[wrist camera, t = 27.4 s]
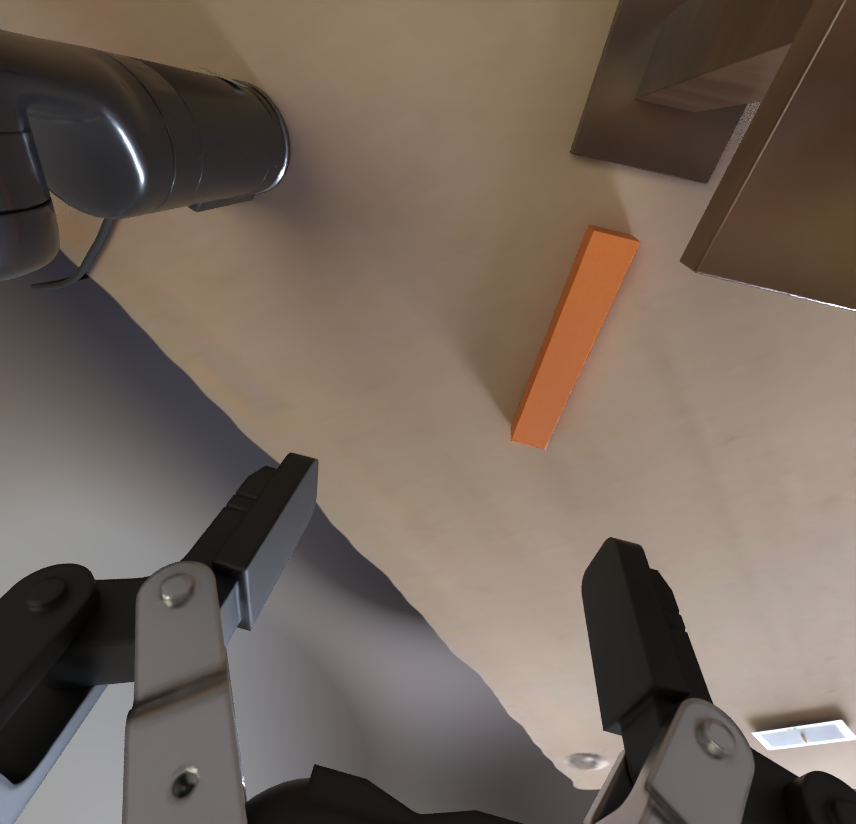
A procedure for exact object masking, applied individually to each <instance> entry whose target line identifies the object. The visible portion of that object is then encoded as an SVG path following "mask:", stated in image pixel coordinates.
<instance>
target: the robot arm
mask: <svg viewBox="0 0 856 824" xmlns="http://www.w3.org/2000/svg"><path fill="white" fill-rule="evenodd" d="M201 69H203V68H201ZM203 70H205V71H208V72H210V73H212V74H215V75H217V76H219V77H216V76H212V75H208V74H203V73H199V72H194V71H190V70H186V69H181V68H177V67H172V66H168V65H164V64H159V63H155V62H150V61H146V60H142V59H137V58H133V57H128V56H123V55H119V54H115V53H110V52H106V51H101V50H97V49H93V48H88V47H83V46H78V45H73V44H68V43H62V42H57V41H52V40H47V39H41V38H36V37H32V36H27V35H23V34H18V33H14V32H9V31H5V30H1V29H0V281H4V280H7V279H11V278H15V277H19V276H22V275H25V274H27V273H30V272H33V271H35V270H37V269H39V268H41V267H43V266H45V265H47V264H48V263H49V262H51V261H52V260H53V258H54V257H55V256H56V255H57V253H58V251H59V247H60V240H59V230H58V224H57V219H56V214H55V211H54V207H53V203H52V200H51V197H50V193H49V191H51V192H52V193H53V194H54V195H55V196H57V197H58V198H59V199H61V200H62V201H63V202H65V203H66V204H68V205H70V206H71V207H73V208H75V209H77V210H79V211H81V212H83V213H86V214H88V215H92V216H95V217H100V218H104V220H103V223H102V225H101V228H100V230H99V233H98V235H97V237H96V239H95V241H94V243H93V244H92V246H91V248H90V249H89V251H88V253H87V255H86V256H85V258H84V260H83V262H82V264H81V266H80V267H79V269H78V270H77V271H76V273H75V274H74V275H73V276H71V277H68V278H64V279H60V280H55V281H50V282H44V283H37V284H32V285H31V288H32V289H33V290H54V289H60V288H64V287H68V286H70V285H72V284H74V283H75V282H76V281H79V280H83V279H87V278H90V276H88V275H87V274H86V271H87V270H88V268H89V267H90V265H91V263H92V261H93V259H94V258H95V256H96V254H97V252H98V251H99V249H100V248H101V246H102V244H103V243H104V241H105V238H106V236H107V234H108V231H109V229H110V227H111V224H112V222H113V220H114V219H123V218H130V217H135V216H140V215H144V214H149V213H154V212H160V211H165V210H170V209H174V208H179V207H184V206H188V207H189V208H190V209H192V210H193V211H196V212H201V211H205V210H210V209H214V208H219V207H223V206H228V205H232V204H237V203H242V202H246V201H251V200H252V199H253V197H254V195H255V194H259V193H263V192H267V191H269V190H271V189H273V188H274V187H275V186H277V185H278V184H279V183H280V181H281V180H282V179H283V177H284V175H285V173H286V171H287V168H288V164H289V159H290V142H289V136H288V132H287V129H286V125H285V123H284V120H283V118H282V116H281V114H280V112H279V111H278V109H277V108H276V106H275V105H274V103H273V102H272V101H271V100H270V99H269V97H268V96H267V95H266V94H264V93H263V92H262V91H261V90H259V89H258V88H257V87H255V86H253V85H251V84H249V83H246V82H243V81H239V80H233V79H229V78H226V77H224V76H222V75H220V74H217V73H215V72H213V71H210V70H207V69H203ZM220 77H221V78H220ZM317 480H318V460H317V459H315V458H311V457H307V456H303V455H299V454H296V453H292V452H291V453H289V454H288V455H287V456H286V457H285V459H284V460H283V462H282V463H281V464H280V466H279V467H278V469H275V468H272V467H268V466H265V467H263V468H261V469H260V470H258V471H257V472H255V473H253V474H252V475H250V476H249V477H247V479H246V480H245V481H244V483H243V484H242V485H241V486H240V488H239V489H238V490H237V492H236V494H235V495H233V497H232V498H231V499H230V500H229V502H228V503H227V505H226V507H224V508H223V509H222V511H221V512H220V513H219V514H218V516H217V517H216V518H215V519H214V521H213V522H212V523H211V525H210V526H209V527H208V528H207V530H206V531H205V532H204V533H203V535H202V536H201V537H200V539H199V540H198V541H197V542H196V544H195V545H194V546H193V548H192V549H191V550H190V551H189V552H188V554H187V555H186V556H185V557H184V558H183V559H182V560H181V561H180V562H175V563H172V564H169V565H167V566H165V567H163V568H161V569H159V570H158V571H156V572H155V573H153V574H152V575H151V576H148V577H144V578H132V579H108V580H95V579H94V577H93V575H92V573H91V571H89V570H88V569H87V568H86V567H84V566H81V565H78V564H57V565H53V566H49V567H46V568H43V569H40V570H38V571H36V572H34V573H32V574H30V575H28V576H26V577H25V578H23V579H22V580H20V581H19V582H18V583H16V584H15V585H14V586H13V587H12V588H11V589H10V590H9V591H8V592H7V593H6V594H5V595H3V596H2V597H1V598H0V824H14V823H15V821H16V820H17V818H18V817H19V815H20V814H21V812H22V811H23V809H24V808H25V806H26V805H27V803H28V802H29V800H30V799H31V798H32V796H33V795H34V793H35V792H36V790H37V789H38V787H39V786H40V784H41V783H42V781H43V780H44V778H45V777H46V776H47V774H48V772H49V771H50V770H51V768H52V767H53V765H54V764H55V762H56V761H57V759H58V758H59V756H60V755H61V753H62V752H63V750H64V749H65V747H66V746H67V745H68V743H69V742H70V740H71V739H72V737H73V736H74V734H75V733H76V731H77V730H78V728H79V727H80V725H81V724H82V722H83V721H84V719H85V718H86V717H87V715H88V714H89V712H90V711H91V709H92V708H93V706H94V705H95V703H96V702H97V700H98V699H99V697H100V696H101V694H102V693H103V691H104V690H105V689H106V687H107V686H108V684H115V683H127V682H134V703H133V707H132V709H131V710H130V711H129V712H128V715H127V720H126V728H125V748H124V779H123V780H124V781H123V810H122V824H522V823H518V822H514V821H512V820H508V819H505V818H501V817H497V816H494V815H491V814H487V813H483V812H480V811H476V810H473V811H460V812H448V813H434V814H418V813H416V812H414V811H412V810H410V809H409V808H408V807H406V806H405V805H403V804H402V803H400V802H399V801H398V800H396V799H395V798H393V797H392V796H390V795H389V794H387V793H386V792H384V791H383V790H382V789H380V788H378V787H377V786H376V785H374V784H373V783H372V782H370V781H369V780H367V779H364V778H361V777H357V776H354V775H351V774H347V773H343V772H340V771H337V770H333V769H330V768H326V767H322V766H319V765H316V764H315V765H314V767H313V770H312V774H311V777H310V778H304V779H303V778H302V779H296V780H291V781H287V782H284V783H281V784H278V785H276V786H273V787H271V788H269V789H267V790H265V791H263V792H261V793H260V794H258V795H256V796H254V797H253V798H252V799H250V800H249V801H247V796H246V789H245V781H244V774H243V767H242V759H241V752H240V746H239V738H238V731H237V724H236V717H235V709H234V702H233V694H232V687H231V680H230V672H229V665H228V657H227V650H226V646H227V644H228V642H229V640H230V639H231V637H232V635H233V633H234V632H235V630H236V628H237V627H238V628H242V629H245V630H249V631H251V629H252V627H253V625H254V624H255V621H256V620H257V618H258V616H259V614H260V612H261V610H262V608H263V607H264V605H265V603H266V601H267V599H268V597H269V595H270V593H271V592H272V590H273V588H274V586H275V584H276V582H277V580H278V578H279V577H280V575H281V573H282V571H283V569H284V567H285V565H286V563H287V562H288V560H289V558H290V556H291V554H292V552H293V550H294V548H295V546H296V545H297V543H298V541H299V539H300V537H301V535H302V533H303V532H304V530H305V528H306V526H307V524H308V522H309V520H310V518H311V516H312V513H313V510H314V507H315V503H316V497H317ZM582 599H583V605H584V612H585V618H586V624H587V630H588V637H589V643H590V649H591V656H592V662H593V668H594V675H595V681H596V687H597V694H598V700H599V706H600V712H601V719H602V725H603V731H607V732H610V733H614V734H618V735H621V736H622V738H623V743H624V750H623V751H622V752H621V753H620V754H619V756H618V758H617V760H616V761H615V763H614V765H613V767H612V769H611V771H610V773H609V775H608V777H607V778H606V780H605V782H604V784H603V786H602V788H601V790H600V792H599V794H598V795H597V798H596V799H595V801H594V803H593V805H592V807H591V809H590V811H589V812H588V814H587V816H586V818H585V820H584V822H583V824H856V792H855V791H854V790H853V789H852V788H851V787H850V786H848V785H847V784H846V783H844V782H843V781H841V780H840V779H838V778H836V777H835V776H833V775H831V774H828V773H826V772H822V771H812V772H809V773H807V774H805V775H803V776H801V777H798V776H796V775H795V774H793V773H791V772H790V771H788V770H786V769H785V768H783V767H781V766H780V765H778V764H777V763H775V762H773V761H772V760H770V759H768V758H767V757H765V756H763V755H762V754H760V753H758V752H757V751H755V750H754V749H752V748H751V747H750V746H749V744H748V742H747V740H746V738H745V736H744V735H743V733H742V731H741V730H740V729H739V727H738V726H737V725H736V724H735V722H734V721H733V720H732V719H731V718H730V717H729V716H728V715H727V714H726V713H725V712H723V711H722V710H721V709H720V708H718V707H717V706H715V705H714V704H713V702H712V699H711V697H710V694H709V692H708V689H707V686H706V683H705V681H704V678H703V675H702V672H701V669H700V667H699V664H698V661H697V658H696V656H695V653H694V650H693V647H692V645H691V642H690V639H689V636H688V634H687V632H685V625H684V622H683V620H682V617H681V615H679V609H678V606H677V603H676V600H675V598H674V595H673V592H672V590H671V588H670V587H669V586H668V584H667V583H666V581H665V580H664V579H663V577H662V576H661V575H660V573H659V572H658V570H654V569H650V568H649V565H648V562H647V559H646V556H645V552H644V550H643V548H642V547H641V546H640V545H639V544H635V543H631V542H627V541H623V540H620V539H616V538H612V537H610V538H608V539H606V541H605V542H604V543H603V545H602V546H601V548H600V550H599V551H598V553H597V554H596V556H595V557H594V559H593V560H592V562H591V563H590V565H589V566H588V568H587V569H586V571H585V573H584V576H583V580H582Z"/></svg>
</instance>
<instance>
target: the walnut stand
mask: <svg viewBox="0 0 856 824" xmlns="http://www.w3.org/2000/svg"><path fill="white" fill-rule="evenodd" d="M760 101H762V102H761V104H760V106H759V108H758V110H757V112H756V114H755V116H754V118H753V120H752V122H751V124H750V126H749V128H748V129H747V131H746V133H745V135H744V137H743V139H742V141H741V143H740V145H739V147H738V149H737V151H736V153H735V155H734V157H733V158H732V160H731V162H730V164H729V166H728V168H727V170H726V172H725V174H724V176H723V178H722V180H721V182H720V184H719V185H718V187H717V189H716V191H715V193H714V195H713V197H712V199H711V201H710V203H709V205H708V207H707V209H706V211H705V213H704V214H703V216H702V218H701V220H700V222H699V224H698V226H697V228H696V230H695V232H694V234H693V236H692V238H691V240H690V241H689V243H688V245H687V247H686V249H685V251H684V253H683V255H682V257H681V259H680V262H681V263H683V264H684V265H685V266H687V267H688V268H690V269H691V270H693V271H694V272H695V273H698V274H703V275H707V276H711V277H715V278H719V279H723V280H727V281H732V282H736V283H740V284H744V285H748V286H752V287H757V288H761V289H765V290H769V291H773V292H777V293H781V294H786V295H790V296H794V297H798V298H802V299H806V300H811V301H815V302H819V303H823V304H827V305H831V306H835V307H840V308H844V309H848V310H852V311H856V0H619V4H618V7H617V10H616V13H615V16H614V19H613V22H612V25H611V28H610V31H609V34H608V37H607V40H606V43H605V46H604V49H603V52H602V55H601V59H600V62H599V65H598V68H597V71H596V74H595V77H594V80H593V83H592V86H591V89H590V92H589V95H588V98H587V101H586V104H585V107H584V110H583V114H582V117H581V120H580V123H579V126H578V129H577V132H576V135H575V138H574V141H573V144H572V147H571V150H570V153H575V154H579V155H583V156H587V157H592V158H596V159H600V160H604V161H609V162H613V163H617V164H622V165H626V166H630V167H634V168H639V169H643V170H647V171H652V172H656V173H660V174H664V175H669V176H673V177H677V178H681V179H686V180H690V181H694V182H699V183H703V184H707V183H708V181H709V179H710V177H711V175H712V173H713V171H714V169H715V167H716V165H717V163H718V161H719V159H720V157H721V155H722V153H723V151H724V149H725V147H726V145H727V143H728V141H729V139H730V137H731V135H732V133H733V131H734V129H735V127H736V125H737V123H738V121H739V119H740V117H741V115H742V113H743V111H744V109H745V107H746V105H747V104H748V103H754V102H760Z"/></svg>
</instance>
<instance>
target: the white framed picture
mask: <svg viewBox="0 0 856 824" xmlns="http://www.w3.org/2000/svg"><path fill="white" fill-rule="evenodd" d="M752 734H753V735H754V736H755V737H756V738H757V739H758V740H759V741H760V742H761V743H762V744H763V745H764V746H765V747H766V748H767V749H768V750H776V749H784V748H792V747H800V746H808V745H816V744H824V743H832V742H840V741H848V740H856V736H855V735H854V734H853V733H852V731H851V730H850V729H849V728H848V727H847V726H846V724H845V723H844V722H843V721H842V720H836V721H829V722H823V723H816V724H809V725H802V726H795V727H788V728H781V729H774V730H767V731H761V732H754V733H752Z"/></svg>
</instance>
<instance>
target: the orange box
mask: <svg viewBox="0 0 856 824" xmlns="http://www.w3.org/2000/svg"><path fill="white" fill-rule="evenodd" d="M639 244H640V241H639V240H638V239H636V238H635V237H634V236H632V235H628V234H624V233H620V232H615V231H611V230H607V229H603V228H599V227H595V226H591V225H589V226H588V228H587V231H586V233H585V236H584V238H583V241H582V244H581V246H580V249H579V251H578V254H577V257H576V259H575V262H574V264H573V267H572V270H571V272H570V275H569V277H568V280H567V283H566V285H565V288H564V290H563V293H562V296H561V298H560V301H559V303H558V306H557V309H556V311H555V314H554V316H553V319H552V322H551V324H550V327H549V329H548V332H547V335H546V337H545V340H544V342H543V345H542V348H541V350H540V353H539V355H538V358H537V361H536V363H535V366H534V368H533V371H532V373H531V376H530V379H529V381H528V384H527V386H526V389H525V392H524V394H523V397H522V399H521V402H520V405H519V407H518V410H517V412H516V415H515V418H514V420H513V423H512V425H511V441H515V442H518V443H522V444H526V445H530V446H534V447H538V448H541V449H546V446H547V444H548V442H549V440H550V438H551V436H552V433H553V431H554V429H555V427H556V425H557V423H558V420H559V418H560V416H561V414H562V412H563V409H564V407H565V405H566V403H567V401H568V399H569V396H570V394H571V392H572V390H573V388H574V386H575V383H576V381H577V379H578V377H579V375H580V372H581V370H582V368H583V366H584V364H585V362H586V359H587V357H588V355H589V353H590V351H591V349H592V346H593V344H594V342H595V340H596V338H597V335H598V333H599V331H600V329H601V327H602V325H603V322H604V320H605V318H606V316H607V314H608V312H609V309H610V307H611V305H612V303H613V301H614V298H615V296H616V294H617V292H618V290H619V288H620V285H621V283H622V281H623V279H624V277H625V275H626V272H627V270H628V268H629V266H630V264H631V261H632V259H633V257H634V255H635V253H636V251H637V248H638V246H639Z"/></svg>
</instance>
